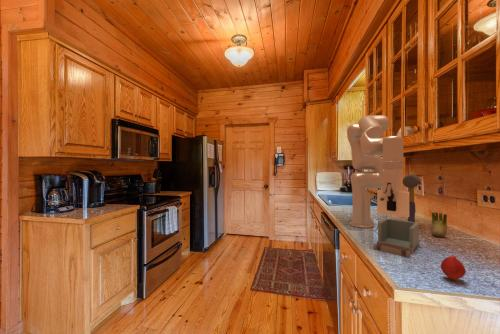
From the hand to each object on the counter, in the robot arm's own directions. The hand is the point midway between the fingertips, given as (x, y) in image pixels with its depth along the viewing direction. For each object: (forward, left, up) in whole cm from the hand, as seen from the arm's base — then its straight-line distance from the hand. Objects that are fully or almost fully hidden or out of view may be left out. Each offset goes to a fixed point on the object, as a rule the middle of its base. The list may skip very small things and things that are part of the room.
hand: (392, 209), depth 97 cm
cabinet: (-6, 0, -17) cm, 18 cm away
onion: (+14, +20, -18) cm, 30 cm away
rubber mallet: (-46, -2, -18) cm, 49 cm away
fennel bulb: (-36, +11, -18) cm, 42 cm away
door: (0, 0, -2) cm, 2 cm away
